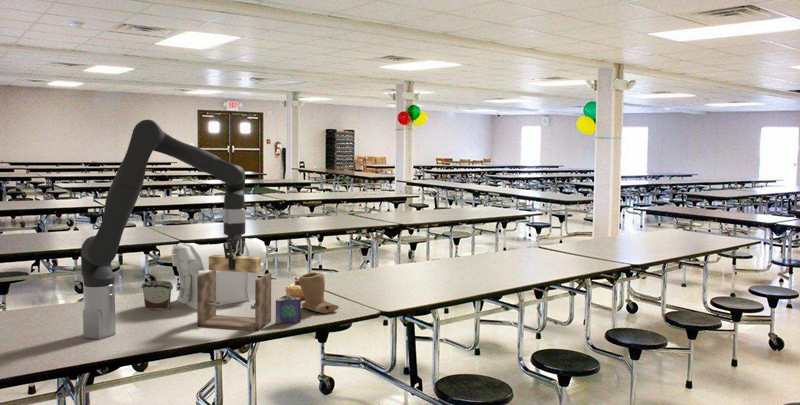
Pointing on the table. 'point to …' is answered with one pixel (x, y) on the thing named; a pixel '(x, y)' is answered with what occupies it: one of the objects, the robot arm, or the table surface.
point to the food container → (157, 294)
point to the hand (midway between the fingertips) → (234, 268)
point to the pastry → (295, 290)
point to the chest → (228, 284)
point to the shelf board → (241, 263)
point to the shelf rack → (210, 319)
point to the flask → (288, 310)
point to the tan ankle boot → (315, 293)
